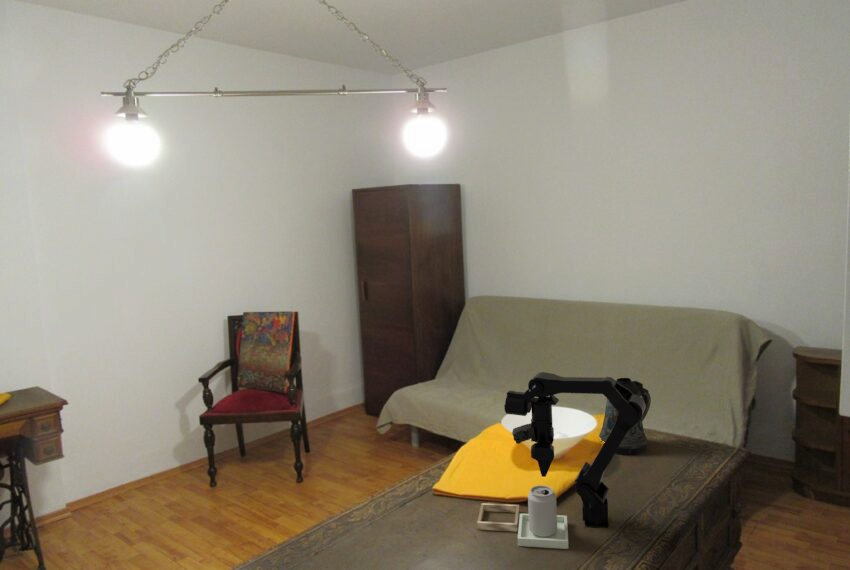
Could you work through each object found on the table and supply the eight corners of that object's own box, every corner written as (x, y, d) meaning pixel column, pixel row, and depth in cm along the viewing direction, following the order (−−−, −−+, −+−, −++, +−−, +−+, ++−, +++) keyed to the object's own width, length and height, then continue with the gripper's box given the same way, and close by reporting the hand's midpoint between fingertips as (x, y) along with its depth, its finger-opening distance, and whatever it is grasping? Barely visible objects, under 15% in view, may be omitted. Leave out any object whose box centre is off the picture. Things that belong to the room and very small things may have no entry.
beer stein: (591, 449, 214) (589, 382, 211) (613, 432, 228) (611, 369, 225) (637, 459, 203) (635, 389, 200) (656, 441, 218) (655, 375, 215)
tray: (567, 522, 165) (566, 515, 165) (568, 548, 153) (568, 541, 153) (520, 520, 168) (519, 513, 168) (517, 545, 156) (517, 538, 155)
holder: (519, 511, 173) (519, 504, 173) (517, 531, 162) (517, 524, 162) (481, 509, 176) (481, 503, 175) (477, 529, 165) (476, 522, 164)
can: (557, 540, 156) (556, 497, 155) (528, 538, 158) (527, 496, 156) (557, 525, 163) (555, 484, 162) (529, 523, 165) (528, 483, 163)
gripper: (515, 406, 179) (517, 455, 181) (511, 428, 161) (513, 483, 163) (552, 406, 177) (554, 456, 179) (553, 429, 159) (555, 484, 161)
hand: (543, 469), depth 170 cm, fingers open, 9 cm apart
